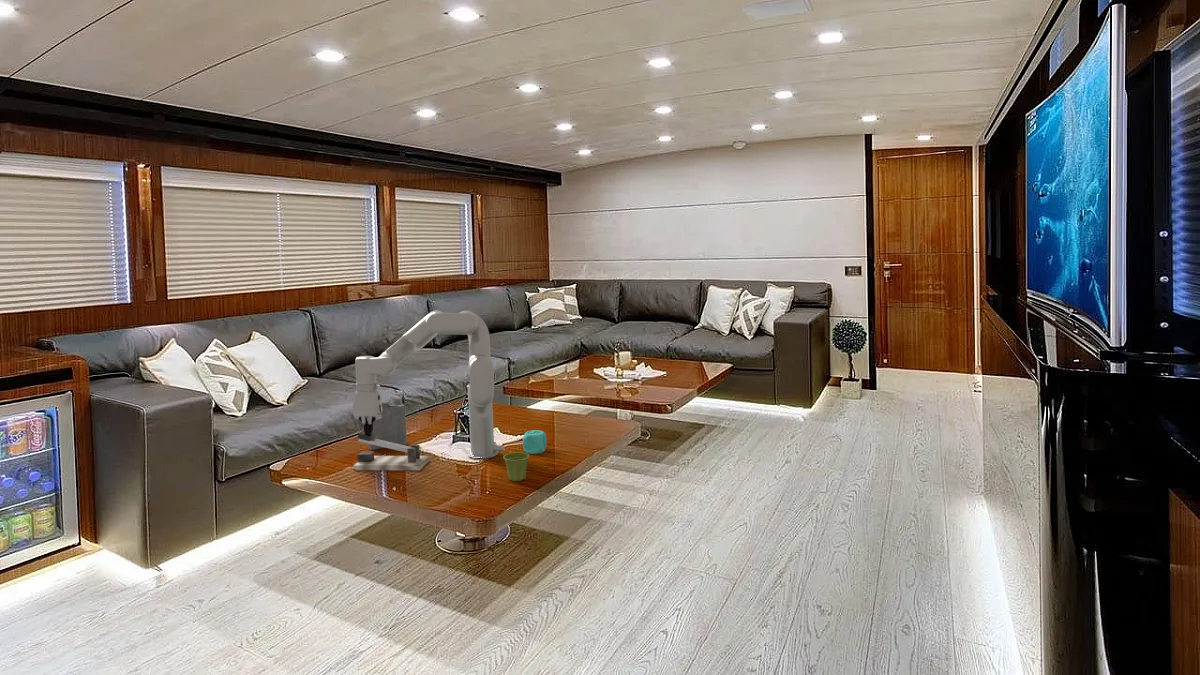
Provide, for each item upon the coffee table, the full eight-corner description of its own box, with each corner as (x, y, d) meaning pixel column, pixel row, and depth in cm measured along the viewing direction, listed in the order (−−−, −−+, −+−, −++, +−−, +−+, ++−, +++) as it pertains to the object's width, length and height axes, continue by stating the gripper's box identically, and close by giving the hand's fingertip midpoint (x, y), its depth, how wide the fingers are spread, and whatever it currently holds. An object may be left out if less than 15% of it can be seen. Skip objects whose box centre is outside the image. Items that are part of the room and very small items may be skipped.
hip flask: (369, 450, 284) (366, 404, 282) (368, 447, 288) (365, 402, 285) (407, 444, 291) (404, 400, 289) (405, 442, 295) (403, 398, 292)
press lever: (415, 450, 264) (416, 442, 264) (411, 454, 259) (412, 445, 259) (362, 438, 265) (363, 430, 264) (356, 442, 260) (358, 433, 260)
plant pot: (529, 482, 240) (528, 459, 239) (503, 483, 239) (502, 460, 238) (530, 474, 249) (529, 451, 248) (505, 475, 249) (504, 452, 247)
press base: (429, 460, 268) (428, 442, 267) (419, 470, 256) (418, 451, 255) (366, 460, 270) (365, 442, 269) (353, 470, 258) (352, 451, 257)
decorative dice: (541, 454, 273) (541, 435, 272) (523, 453, 275) (522, 434, 274) (546, 448, 281) (546, 430, 280) (528, 448, 283) (528, 429, 282)
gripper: (388, 386, 263) (390, 431, 265) (352, 385, 264) (354, 430, 266) (381, 389, 255) (383, 436, 257) (343, 389, 256) (345, 435, 258)
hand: (368, 433), depth 262 cm, fingers closed
